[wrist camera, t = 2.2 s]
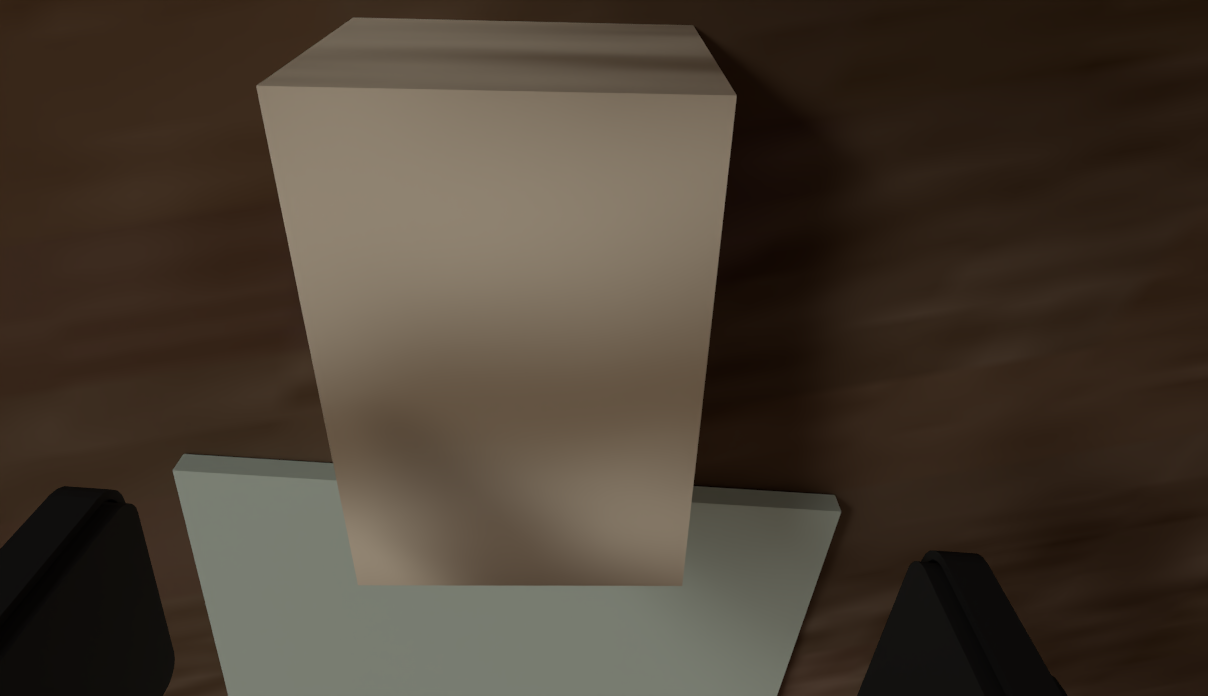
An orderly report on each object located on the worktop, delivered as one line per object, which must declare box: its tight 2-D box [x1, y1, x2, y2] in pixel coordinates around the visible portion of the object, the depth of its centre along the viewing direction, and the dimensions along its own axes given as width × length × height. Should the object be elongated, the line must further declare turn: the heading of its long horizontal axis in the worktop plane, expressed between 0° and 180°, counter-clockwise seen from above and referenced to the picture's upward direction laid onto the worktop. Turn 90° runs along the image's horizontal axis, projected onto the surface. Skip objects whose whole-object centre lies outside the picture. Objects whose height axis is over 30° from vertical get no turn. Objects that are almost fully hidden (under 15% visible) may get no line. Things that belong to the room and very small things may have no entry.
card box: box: [256, 18, 737, 586], centre depth 14 cm, size 9×6×5 cm, turn 179°
